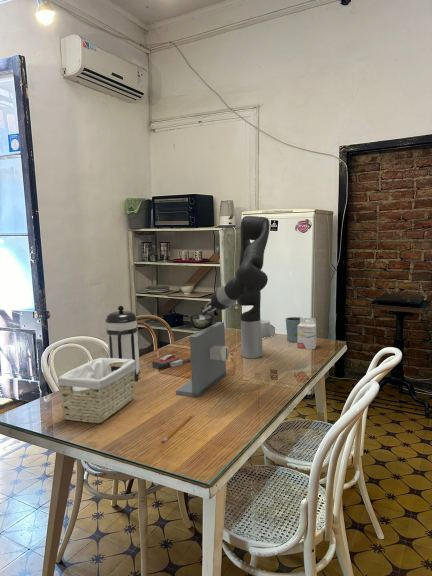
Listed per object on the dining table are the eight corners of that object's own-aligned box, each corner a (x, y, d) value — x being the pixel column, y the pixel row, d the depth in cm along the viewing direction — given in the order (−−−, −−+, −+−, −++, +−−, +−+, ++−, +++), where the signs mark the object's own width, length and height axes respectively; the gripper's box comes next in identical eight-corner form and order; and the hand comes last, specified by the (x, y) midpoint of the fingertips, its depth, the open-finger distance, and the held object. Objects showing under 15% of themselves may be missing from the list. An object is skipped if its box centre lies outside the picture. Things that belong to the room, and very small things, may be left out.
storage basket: (100, 394, 158) (97, 355, 156) (139, 398, 153) (137, 358, 151) (58, 422, 136) (54, 377, 134) (102, 427, 131) (99, 380, 129)
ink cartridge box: (297, 348, 212) (296, 319, 210) (299, 345, 216) (299, 317, 214) (314, 349, 208) (314, 320, 206) (316, 347, 212) (316, 318, 210)
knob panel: (235, 375, 174) (233, 322, 171) (208, 398, 150) (206, 337, 147) (206, 372, 179) (204, 321, 176) (176, 394, 155) (173, 335, 153)
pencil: (165, 443, 119) (194, 416, 136) (163, 440, 119) (192, 413, 137) (162, 444, 119) (191, 417, 137) (160, 441, 119) (190, 414, 137)
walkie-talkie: (162, 372, 183) (195, 361, 197) (162, 362, 182) (195, 351, 197) (149, 368, 188) (182, 358, 203) (148, 358, 188) (181, 348, 203)
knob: (230, 358, 162) (229, 344, 162) (224, 363, 157) (224, 348, 157) (215, 357, 165) (215, 343, 164) (209, 361, 160) (209, 347, 159)
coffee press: (97, 379, 175) (92, 307, 172) (129, 369, 187) (125, 301, 183) (121, 388, 164) (116, 311, 160) (154, 377, 175) (150, 305, 172)
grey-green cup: (297, 344, 219) (296, 321, 218) (281, 341, 227) (281, 318, 226) (309, 340, 226) (308, 318, 225) (293, 337, 234) (293, 315, 232)
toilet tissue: (278, 336, 238) (278, 321, 236) (258, 339, 232) (257, 323, 231) (270, 333, 246) (269, 318, 245) (249, 336, 240) (249, 321, 239)
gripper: (232, 280, 158) (209, 297, 171) (207, 294, 149) (185, 311, 163) (243, 297, 157) (219, 313, 171) (219, 312, 149) (196, 328, 162)
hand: (203, 312), depth 167 cm, fingers closed
